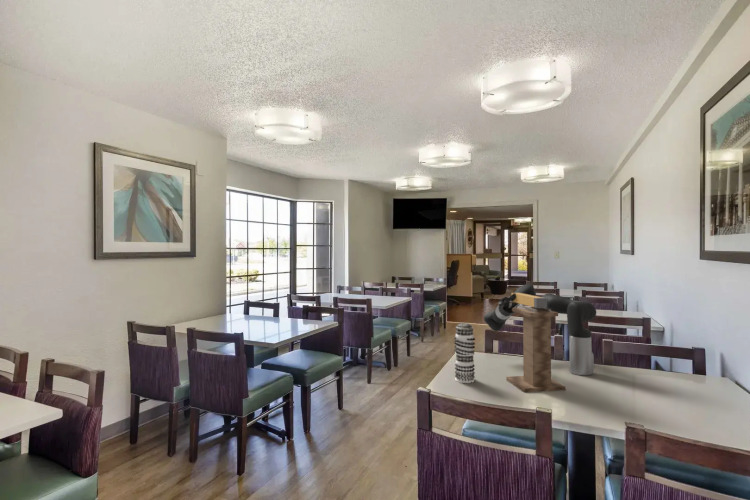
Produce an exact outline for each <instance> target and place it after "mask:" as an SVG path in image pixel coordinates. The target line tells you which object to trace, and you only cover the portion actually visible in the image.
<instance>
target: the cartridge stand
mask: <svg viewBox="0 0 750 500" xmlns="http://www.w3.org/2000/svg"><path fill="white" fill-rule="evenodd" d="M512 311H513V312H515V313H516V314H520V315H523V316H522V321H523V322H522V327H523V328H522V331H523V332H522V333H523V337H522V338H523V339H522V341H523V343H522V344H523V345H522V346H523V347H522V348H523V350H522V351H523V357H522V358H523V375H516V376H515V375H512V376H511V375H510V376H506V379H505V380H506V382H508V383H510V384H511V385H513V386H514V387H515V388H516V389H518V390H520V391H521V392H523V393H536V392H537V393H539V392H555V391H558V392H559V391H566V386H565V385H563V384H561V383H560V382H559V381H556V380H554V379H553V378H552V317H559V313H558V312H554V311H551V309H547V308H534V307H531V306H526V305H525V306H523V305H519V306H518V307H517V308H512Z"/></svg>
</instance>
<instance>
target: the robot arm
mask: <svg viewBox="0 0 750 500" xmlns="http://www.w3.org/2000/svg"><path fill="white" fill-rule="evenodd" d="M513 293H514V294H513V295H509V296H508V297H507V296H504V297H503V298H501V299H499V300H497V303H498V305H497V306H496V308H494V310H492V311H489V312H487V313H486V314H485V315H484V316H483V320H484V322H485V323H486V325H487V326H488V327H489V328H490V329H491V331H493V332H499V331H501V330H502V329H503V327H504V325H505V323H506V321H507V320H508V319H509V318H510V317H512V316H513V315H514V314H515V313H516V312H513V311H512V308H519V305H521V306H525V307H528V306H527V305H523V304H519V303H515V302H512V301H513V300H514V299H515V298H516V293H523V294H528V295H533V296H538V295H537V293H536V290H535V288H534V286H533V284H530V283H527V284H523V285H521V286H519V287H518V288H517V289H516V290H515V291H514V292H513ZM541 297H543V298H547V309H551V311H554V312H558V314H559V315H560V314H561V315H566V318H567V319H566V320H567V329H568V332H569V333H568V334H569V338H568V339H569V341H568V342H569V344H568V345H569V373H571V374H573V375H577V376H578V375H579V376H591V375H593V374H594V373H595V372H594V371H595V370H594V366H595V365H594V363H595V362H594V353H593V352H592V331H591V330H590V329H588V328H585V327H584V324H583V322H590V321H592V320H594V319H595V318H596V317H597V316H596V315H597V309H596V307H595V306H594V305H593V303H591V302H589V301H583V300H574V299H571V298H568V297H565V296H561V295H558V294H554V293H545V294H543V295H542V296H541Z"/></svg>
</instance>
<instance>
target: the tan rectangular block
mask: <svg viewBox="0 0 750 500" xmlns="http://www.w3.org/2000/svg"><path fill="white" fill-rule="evenodd" d="M514 293H515V292H511V295H513V294H514ZM511 295H510V296H511ZM512 302H515V303H519V304H523V305H525V306H526V305H527V306H526V307H534V308H547V298H543V297H542V296H538V295H537V296H533V295H528V294H523V293H516V298H515V299H514V300H513V301H512ZM523 305H522V306H523Z"/></svg>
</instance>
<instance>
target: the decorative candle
mask: <svg viewBox="0 0 750 500" xmlns="http://www.w3.org/2000/svg"><path fill="white" fill-rule="evenodd" d="M474 329H475V327H474V326H473V325H472V324H471V323H469V322H459V323H458V324H457V325H456V326H455V336H454V339H453V340H454V341H453V342H454V354H455V357H456V358H455V364H454V366H455V368H454V369H455V371H454V374H455V378H454V379H455V381H456V382H458V383H462V384H470V383H471V382H472V383H474V382H475V381H474V380H475V378H476V377H475V374H476V372H475V369H476V368H475V367H476V366H475V360H474V355H475V352H476V351H475V350H474V349H476V347H475V345H476V343H475V342H474V341H475V340H476V338H475V337H474V335H475V334H474Z"/></svg>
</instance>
